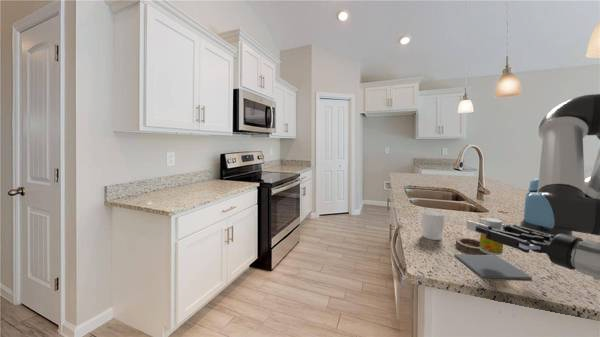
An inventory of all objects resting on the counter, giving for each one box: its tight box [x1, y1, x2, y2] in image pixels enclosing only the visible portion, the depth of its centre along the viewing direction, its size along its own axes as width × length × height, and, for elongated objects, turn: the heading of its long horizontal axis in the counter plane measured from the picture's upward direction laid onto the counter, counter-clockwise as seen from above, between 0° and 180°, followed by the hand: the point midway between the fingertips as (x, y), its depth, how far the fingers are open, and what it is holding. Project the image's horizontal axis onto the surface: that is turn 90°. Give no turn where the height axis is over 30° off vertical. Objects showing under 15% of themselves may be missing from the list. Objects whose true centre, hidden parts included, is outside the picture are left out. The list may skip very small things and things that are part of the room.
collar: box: [455, 237, 488, 255], centre depth 84 cm, size 9×9×2 cm
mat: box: [454, 253, 533, 280], centre depth 71 cm, size 13×13×1 cm
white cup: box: [421, 209, 446, 241], centre depth 94 cm, size 8×8×10 cm
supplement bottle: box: [479, 217, 504, 256], centre depth 70 cm, size 5×5×10 cm
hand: (474, 223), depth 75 cm, fingers closed on supplement bottle, 5 cm apart
